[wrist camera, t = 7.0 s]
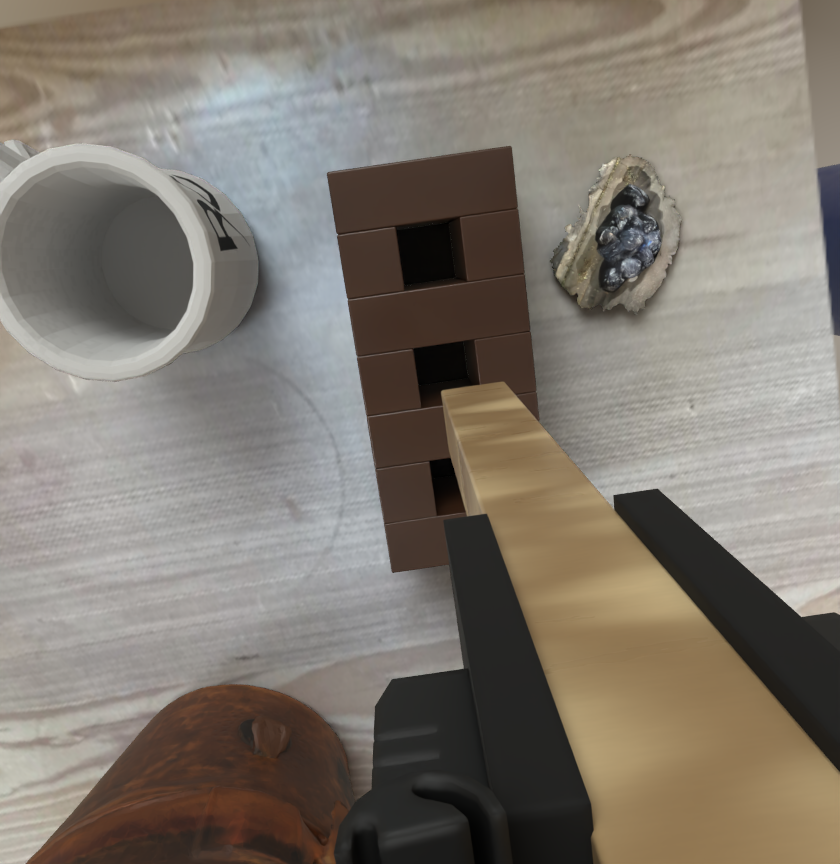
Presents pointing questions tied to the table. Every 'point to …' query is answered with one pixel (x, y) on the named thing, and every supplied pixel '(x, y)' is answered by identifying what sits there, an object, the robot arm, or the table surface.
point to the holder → (430, 322)
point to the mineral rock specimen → (619, 239)
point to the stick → (638, 666)
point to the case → (215, 788)
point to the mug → (117, 260)
